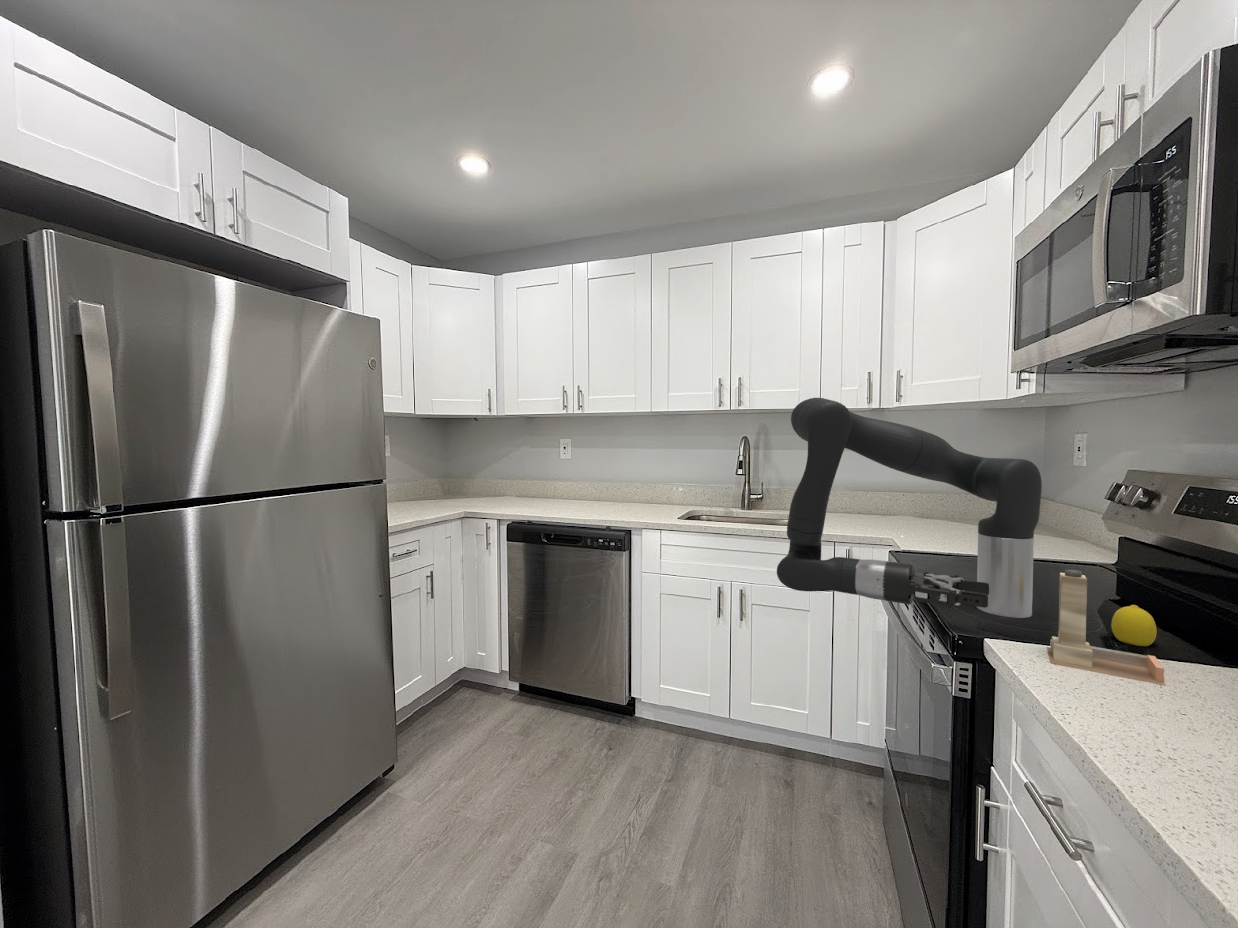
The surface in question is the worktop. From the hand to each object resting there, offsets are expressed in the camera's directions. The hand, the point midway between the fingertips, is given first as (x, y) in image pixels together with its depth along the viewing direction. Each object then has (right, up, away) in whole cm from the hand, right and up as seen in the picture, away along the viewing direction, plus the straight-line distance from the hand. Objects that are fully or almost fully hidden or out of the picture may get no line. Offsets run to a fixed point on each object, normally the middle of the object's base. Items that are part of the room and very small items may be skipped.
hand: (988, 595), depth 88 cm
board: (+11, -10, -8) cm, 18 cm away
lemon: (+26, -10, +1) cm, 28 cm away
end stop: (+16, -9, -12) cm, 22 cm away
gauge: (+9, -9, -6) cm, 14 cm away
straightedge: (+13, -9, -6) cm, 17 cm away
